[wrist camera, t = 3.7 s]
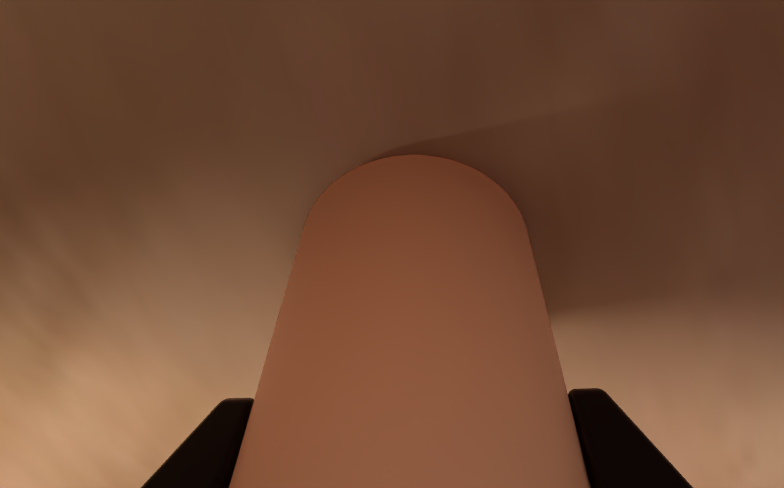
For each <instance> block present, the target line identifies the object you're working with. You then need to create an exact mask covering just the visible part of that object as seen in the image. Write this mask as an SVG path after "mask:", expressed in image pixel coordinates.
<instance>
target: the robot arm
mask: <svg viewBox="0 0 784 488" xmlns="http://www.w3.org/2000/svg"><path fill="white" fill-rule="evenodd" d="M568 398H569V402H570V406H571V410H572V414H573V418H574V422H575V426H576V430H577V434H578V438H579V442H580V446H581V450H582V454H583V458H584V462H585V466H586V471H587V475H588V479H589V483H590V487H591V488H693V487H692V486H691V485H690V484H689V483H688V482H687V481H686V479H685V478H684V477H683V476H682V475H681V474H680V473H679V472H678V471H677V470H676V469H675V467H674V466H673V465H672V464H671V463H670V462H669V461H668V460H667V459H666V458H665V456H664V455H663V454H662V453H661V452H660V451H659V450H658V449H657V448H656V447H655V446H654V444H653V443H652V442H651V441H650V440H649V439H648V438H647V437H646V436H645V435H644V433H643V432H642V431H641V430H640V429H639V428H638V427H637V426H636V425H635V424H634V423H633V421H632V420H631V419H630V418H629V417H628V416H627V415H626V414H625V413H624V412H623V410H622V409H621V408H620V407H619V406H618V405H617V404H616V403H615V402H614V401H613V400H612V398H611V397H610V396H609V395H608V394H607V393H606V392H605V391H603V390H602V389H598V388H590V389H573V390H571V391H570V392H569V394H568ZM253 402H254V399H252V398H228V399H225V400H223V401H221V402H220V403H219V404H218V405H217V406H216V407H215V408H214V409H213V410H212V411H211V413H210V414H209V415H208V416H207V417H206V418H205V419H204V420H203V421H202V422H201V423H200V424H199V426H198V427H197V428H196V429H195V430H194V431H193V432H192V433H191V434H190V435H189V436H188V437H187V439H186V440H185V441H184V442H183V443H182V444H181V445H180V446H179V447H178V448H177V449H176V450H175V451H174V453H173V454H172V455H171V456H170V457H169V458H168V459H167V460H166V461H165V462H164V463H163V464H162V466H161V467H160V468H159V469H158V470H157V471H156V472H155V473H154V474H153V475H152V476H151V477H150V479H149V480H148V481H147V482H146V483H145V484H144V485H143V486H142V487H141V488H229V486H230V482H231V479H232V475H233V472H234V469H235V465H236V462H237V458H238V455H239V451H240V448H241V444H242V441H243V437H244V434H245V430H246V427H247V423H248V420H249V416H250V413H251V409H252V406H253Z"/></svg>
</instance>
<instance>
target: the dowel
mask: <svg viewBox="0 0 784 488" xmlns="http://www.w3.org/2000/svg"><path fill="white" fill-rule="evenodd" d="M229 488H591V487H590V483H589V479H588V475H587V471H586V466H585V462H584V458H583V454H582V450H581V446H580V442H579V438H578V434H577V430H576V426H575V422H574V418H573V414H572V410H571V406H570V402H569V398H568V394H567V390H566V386H565V382H564V378H563V374H562V370H561V366H560V362H559V358H558V353H557V349H556V345H555V341H554V337H553V333H552V329H551V325H550V321H549V317H548V313H547V309H546V305H545V301H544V297H543V293H542V289H541V285H540V281H539V277H538V273H537V269H536V265H535V261H534V257H533V253H532V249H531V245H530V241H529V236H528V232H527V228H526V225H525V223H524V220H523V217H522V215H521V213H520V211H519V210H518V208H517V206H516V204H515V203H514V202H513V200H512V199H511V198H510V197H509V195H508V194H507V193H506V192H505V191H504V190H503V189H502V188H501V187H500V186H499V185H498V184H497V183H496V182H494V181H493V180H492V179H490V178H489V177H487V176H486V175H485V174H483V173H481V172H479V171H478V170H476V169H474V168H472V167H470V166H467V165H465V164H462V163H460V162H457V161H454V160H450V159H446V158H442V157H436V156H428V155H401V156H392V157H387V158H383V159H379V160H375V161H372V162H369V163H367V164H364V165H361V166H359V167H357V168H355V169H353V170H351V171H350V172H348V173H346V174H344V175H343V176H342V177H340V178H339V179H337V180H336V181H335V182H334V183H332V184H331V185H330V186H329V187H328V188H327V189H326V190H325V191H324V192H323V193H322V195H321V196H320V197H319V198H318V200H317V201H316V202H315V204H314V206H313V207H312V209H311V211H310V213H309V215H308V217H307V220H306V223H305V225H304V229H303V232H302V236H301V239H300V243H299V246H298V249H297V253H296V256H295V260H294V263H293V267H292V270H291V274H290V277H289V281H288V284H287V288H286V291H285V295H284V298H283V302H282V305H281V309H280V312H279V316H278V319H277V322H276V326H275V329H274V333H273V336H272V340H271V343H270V347H269V350H268V354H267V357H266V361H265V364H264V368H263V371H262V375H261V378H260V382H259V385H258V389H257V392H256V396H255V399H254V402H253V406H252V409H251V413H250V416H249V420H248V423H247V427H246V430H245V434H244V437H243V441H242V444H241V448H240V451H239V455H238V458H237V462H236V465H235V469H234V472H233V475H232V479H231V482H230V486H229Z"/></svg>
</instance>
